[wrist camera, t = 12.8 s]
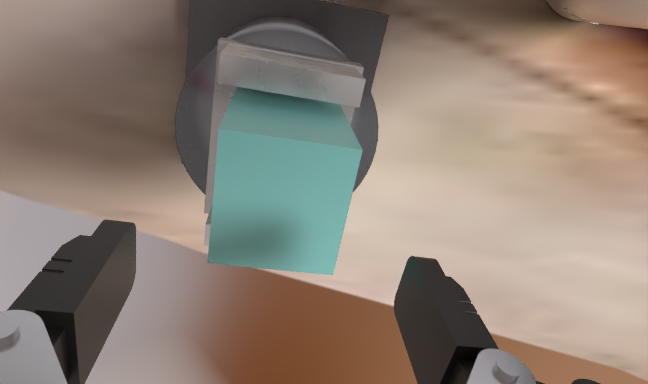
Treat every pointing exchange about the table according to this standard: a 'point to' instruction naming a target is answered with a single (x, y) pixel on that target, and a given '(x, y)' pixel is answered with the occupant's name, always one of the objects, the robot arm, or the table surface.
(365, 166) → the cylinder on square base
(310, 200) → the turquoise cube
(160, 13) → the table surface
